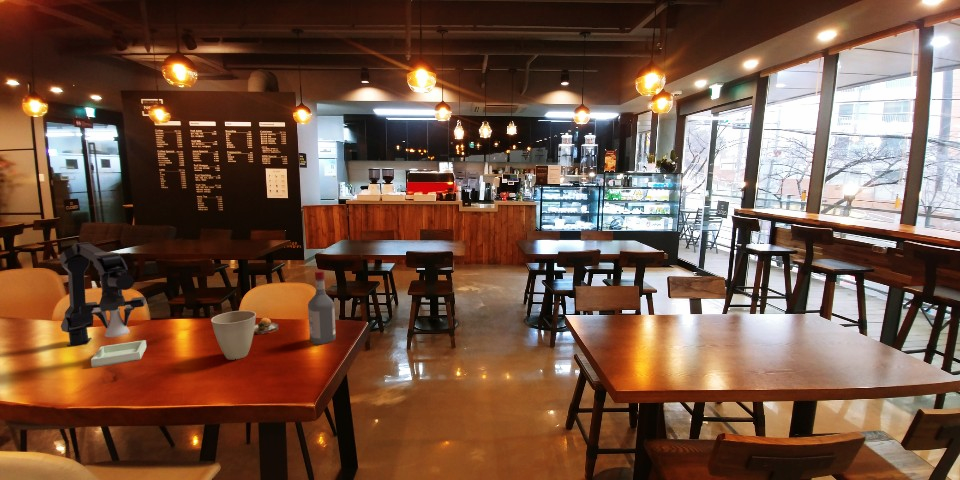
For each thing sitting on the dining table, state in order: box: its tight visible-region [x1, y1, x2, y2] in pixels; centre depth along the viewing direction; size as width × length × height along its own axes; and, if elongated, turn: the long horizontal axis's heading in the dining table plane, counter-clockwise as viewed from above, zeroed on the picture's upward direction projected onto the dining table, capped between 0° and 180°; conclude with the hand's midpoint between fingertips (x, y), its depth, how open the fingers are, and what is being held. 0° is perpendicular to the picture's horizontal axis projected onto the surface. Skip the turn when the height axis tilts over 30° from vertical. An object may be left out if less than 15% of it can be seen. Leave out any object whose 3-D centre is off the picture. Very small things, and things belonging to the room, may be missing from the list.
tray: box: [90, 339, 147, 368], centre depth 166 cm, size 14×14×3 cm
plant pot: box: [210, 310, 257, 361], centre depth 166 cm, size 15×15×16 cm
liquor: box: [307, 270, 337, 346], centre depth 181 cm, size 9×9×30 cm
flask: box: [104, 307, 131, 338], centre depth 164 cm, size 7×7×10 cm
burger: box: [253, 316, 279, 335], centre depth 195 cm, size 12×12×8 cm
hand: (116, 326), depth 164 cm, fingers closed on flask, 5 cm apart
